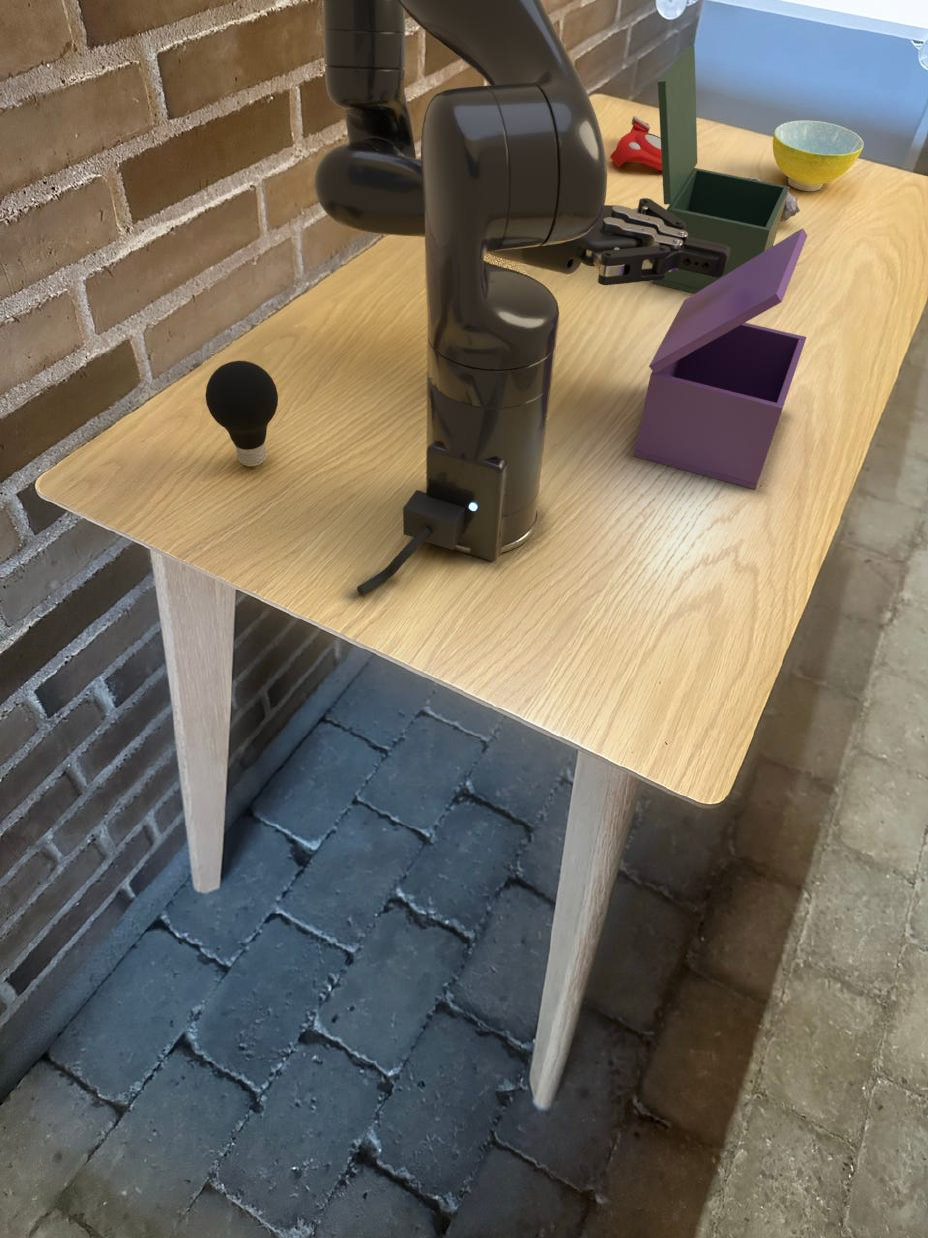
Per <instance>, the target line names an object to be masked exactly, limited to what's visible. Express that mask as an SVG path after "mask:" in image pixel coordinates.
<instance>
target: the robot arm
mask: <svg viewBox="0 0 928 1238" xmlns="http://www.w3.org/2000/svg"><path fill="white" fill-rule="evenodd" d="M321 5H322V28H323V30H322V32H323V33H322V36H323V61H324V62H323V63H324V65H325V66H324V81H325V88H326V93H327V97H328V98H329V100H330V101H331V103H332V104H334V105H335V106H337V107H338V108H341V109H342V111H343V113H344V121H345V126H346V131H347V138H348V139H347V140H348V142H346V143H343V144H342V143H341V144H339V145H337V146H335V147H333V148H332V149H331V150H329V151H328V152H327V153H326V154H325V155H324V156H323V157H322V158H321V160H320V161H319V164H318V165H317V168H316V171H315V174H314V191H315V196H316V198H317V200H318V203H319V205H320V206H321V208H322V209H323V211H324V212H325V213H326V214H327V215H328V216H329V217H330V218H331V219H332V220H334V222H336V223H338V224H340V225H341V226H344V227H345V228H348V229H351V230H355V231H358V232H364V233H365V232H366V233H371V234H380V235H389V236H391V235H392V236H400V237H415V238H416V237H417V238H418V237H419V238H424V253H425V254H424V257H425V259H424V260H425V262H424V263H425V266H424V267H425V271H424V272H425V295H426V317H427V318H426V321H427V323H426V327H427V328H426V452H425V455H426V457H425V459H426V460H425V461H426V462H425V471H426V472H425V473H426V474H425V481H426V482H425V491H422V490H419V489H416V490H415V491H414V493H412V495H411V496H410V498H409V499H408V500H407V502H406V504H404V506H403V507H402V519H403V520H402V524H403V525H402V526H403V527H402V531H403V535H404V536H407V537H410V538H411V539H410V540H409V542H408V543H407V544H406V545H405V546H404V547H403V548H402V549H401V550H400V551H399V553H397V554H396V556H395V557H394V558H393V559H392V560H391V561H390V563H388V565H387V566H386V567H385V568H384V569H383V570H381V571H380V572H379V573H377V574H376V575H375V576H373V577H371V578H369V579H368V580H366V581H365V582H363V583H361V584H359V585H358V586H357V587H356V590H357V593H358V594H359V595H360V596H361V597H364V596H366V595H367V594H368V593H370V592H372V591H374V590H376V589H377V588H379V587H380V586H382V585H383V584H385V583H386V582H387V581H389V580H390V579H391V578H392V577H393V576H394V575H395V574H397V572H398V571H399V570H400V569H401V568H402V566H403V565H404V564H405V563H406V562H407V561H408V560H409V558H411V557H412V555H413V554H414V553H416V551H417V550H418V549H419V548H420V547H421V546H422V545H423V543H424V542H426V543H429V544H431V545H432V544H433V545H436V546H438V547H442V548H445V549H448V550H451V551H454V550H455V551H457V552H461V553H464V554H468V555H471V556H475V557H478V558H481V559H484V560H487V561H490V562H495V561H497V559H498V557H499V556H500V555H501V554H503V553H506V552H509V551H512V550H514V549H517V548H518V547H520V546H521V545H524V543H526V542H527V541H528V540H529V539H530V537H532V535H533V533H534V531H535V530H536V526H537V521H538V504H539V502H538V501H539V494H540V484H541V475H542V467H543V458H544V450H545V442H546V434H547V433H546V432H547V425H548V415H549V414H548V413H549V407H550V400H551V399H550V398H551V390H552V382H553V375H554V367H555V358H556V352H557V351H556V350H557V342H558V335H559V334H558V333H559V325H560V308H559V303H558V301H557V299H556V297H555V296H554V294H553V293H552V291H551V290H550V289H549V288H548V287H547V286H545V284H543V283H542V282H540V281H539V280H537V279H536V278H534V277H532V276H530V275H528V274H525V273H522V272H520V271H517V270H514V269H510V268H506V267H503V266H499V265H497V264H494V263H491V262H489V261H486V260H485V256H486V254H488V255H490V256H492V257H495V258H497V259H501V260H505V261H509V262H512V263H513V262H514V263H517V264H522V265H526V266H529V267H535V268H538V269H543V270H547V271H552V272H556V273H560V274H564V275H571V274H573V273H575V272H576V271H577V270H578V269H579V268H580V266H581V265H582V264H583V265H585V266H587V267H592V268H596V269H597V270H598V276H597V283H598V284H599V285H601V286H613V285H614V286H615V285H622V284H633V283H643V282H651V281H652V282H653V280H662V279H664V278H665V273H666V272H676V271H677V270H678V268H679V269H682V270H686V271H691V272H695V273H700V274H704V275H708V276H713V277H720V276H722V275H723V273H724V271H725V268H726V266H727V263H728V259H729V255H730V247H729V246H727V245H724V244H720V243H715V242H710V241H706V240H701V239H696V238H692V237H688V232H686V231H685V226H686V223H685V222H684V221H683V220H681V219H680V218H678V217H677V216H675V215H674V214H672V213H671V212H669V211H668V210H667V208H665V207H663V206H661V205H660V204H659V203H657V202H656V201H654V200H652V199H651V198H649V197H642V198H639V200H638V206H637V208H631V207H629V206H624V205H619V204H618V205H617V204H615V205H614V204H613V205H612V204H611V205H609V204H605V203H606V199H607V187H608V166H607V158H606V157H607V156H606V151H605V150H606V149H605V145H604V141H603V135H602V132H601V128H600V123H599V120H598V118H597V115H596V112H595V108H594V107H593V103H592V102H591V99H590V96H589V94H588V92H587V89H586V87H585V85H584V83H583V81H582V78H581V77H580V75H579V72H578V70H577V69H576V67H575V65H574V63H573V60H572V59H571V57H570V55H569V53H568V50H567V49H566V47H565V45H564V43H563V41H562V39H561V37H560V35H559V33H558V31H557V29H556V27H555V26H554V23H553V21H552V20H551V18H550V16H549V14H548V11H547V9H546V7H545V5H544V3H543V0H322V1H321ZM406 13H407V14H408V16H410V18H411V19H412V20H413V21H415V23H416V24H418V25H419V26H420V27H421V29H423V30H424V31H425V32H426V33H427V34H429V35H430V36H431V37H432V38H433V39H435V40H436V41H437V42H438V43H440V44H441V46H443V47H445V49H447V50H448V51H450V52H451V53H452V54H454V55H455V56H456V57H458V58H459V59H460V60H461V61H463V62H464V63H465V64H467V65H468V66H469V67H470V68H472V69H473V71H475V72H476V73H477V74H478V75H480V76H481V77H482V79H484V81H485V82H486V83H487V84H488V85H477V86H462V87H455V88H448V89H447V88H446V89H444V90H440V91H439V92H437V93H436V94H435V95H434V96H433V97H432V98H431V99H430V101H429V103H428V105H427V108H426V110H425V113H424V117H423V123H422V126H421V127H422V128H421V137H420V158H417V155H416V146H415V145H416V144H415V140H414V133H413V127H412V126H413V125H412V120H411V115H410V110H409V105H408V102H407V97H406V96H407V95H406V90H405V83H406V81H405V80H406V69H405V68H406Z"/></svg>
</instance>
